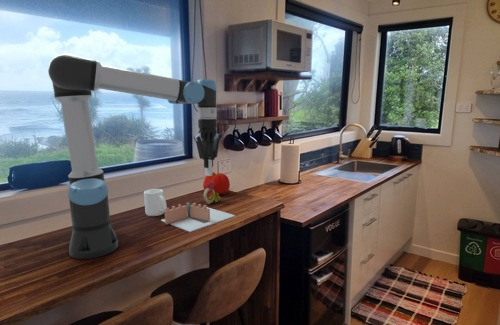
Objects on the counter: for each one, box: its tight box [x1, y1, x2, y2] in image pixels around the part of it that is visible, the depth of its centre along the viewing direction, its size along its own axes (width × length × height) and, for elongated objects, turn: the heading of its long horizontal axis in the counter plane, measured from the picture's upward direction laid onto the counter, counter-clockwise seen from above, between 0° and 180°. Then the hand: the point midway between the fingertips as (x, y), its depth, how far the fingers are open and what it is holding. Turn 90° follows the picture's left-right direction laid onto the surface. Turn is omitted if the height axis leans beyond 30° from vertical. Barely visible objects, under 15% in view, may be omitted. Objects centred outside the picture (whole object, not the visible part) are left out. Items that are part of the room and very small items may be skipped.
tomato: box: [202, 171, 231, 196], centre depth 185 cm, size 13×14×12 cm
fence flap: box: [189, 202, 210, 221], centre depth 145 cm, size 10×2×6 cm, turn 55°
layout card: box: [160, 206, 236, 233], centre depth 147 cm, size 25×20×1 cm
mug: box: [143, 188, 167, 217], centre depth 154 cm, size 12×8×10 cm
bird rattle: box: [203, 181, 222, 205], centre depth 169 cm, size 6×11×9 cm
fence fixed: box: [164, 201, 191, 225], centre depth 144 cm, size 12×1×7 cm, turn 136°
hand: (208, 175), depth 146 cm, fingers closed
